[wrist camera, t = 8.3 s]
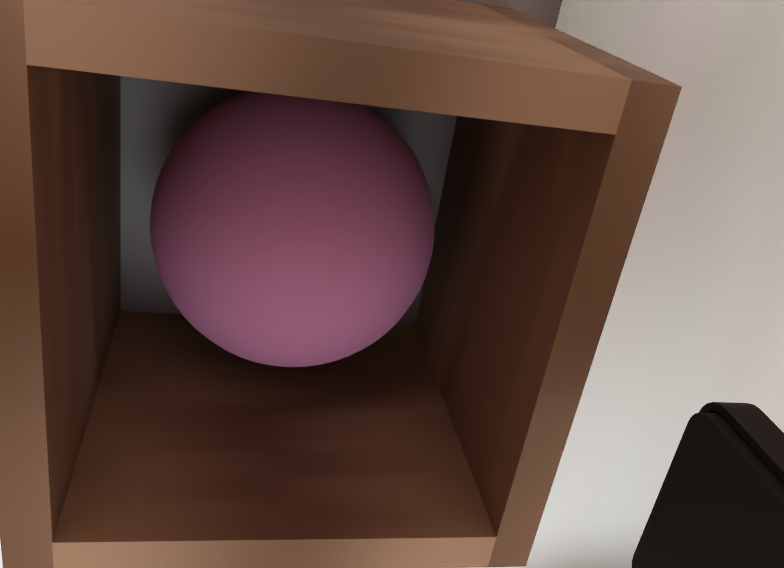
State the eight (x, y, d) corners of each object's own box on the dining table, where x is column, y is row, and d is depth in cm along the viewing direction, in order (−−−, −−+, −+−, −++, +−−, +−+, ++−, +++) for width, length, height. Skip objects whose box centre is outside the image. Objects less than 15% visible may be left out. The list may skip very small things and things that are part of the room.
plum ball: (425, 75, 18) (496, 150, 13) (387, 293, 21) (433, 429, 16) (168, 41, 17) (132, 110, 12) (161, 278, 20) (129, 422, 14)
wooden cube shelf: (558, -41, 18) (785, 11, 11) (461, 371, 24) (565, 606, 16) (24, -134, 16) (-189, -153, 8) (48, 355, 21) (-66, 628, 13)
